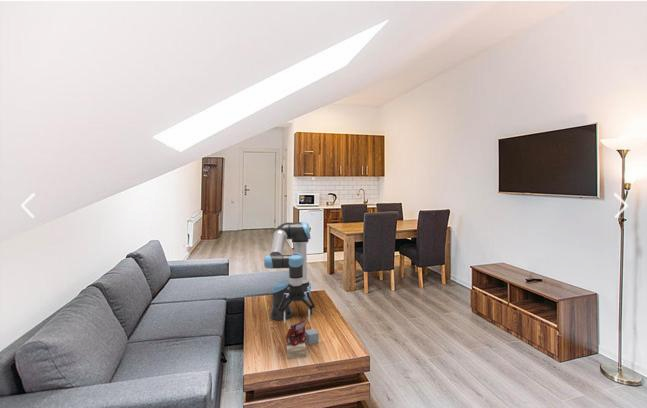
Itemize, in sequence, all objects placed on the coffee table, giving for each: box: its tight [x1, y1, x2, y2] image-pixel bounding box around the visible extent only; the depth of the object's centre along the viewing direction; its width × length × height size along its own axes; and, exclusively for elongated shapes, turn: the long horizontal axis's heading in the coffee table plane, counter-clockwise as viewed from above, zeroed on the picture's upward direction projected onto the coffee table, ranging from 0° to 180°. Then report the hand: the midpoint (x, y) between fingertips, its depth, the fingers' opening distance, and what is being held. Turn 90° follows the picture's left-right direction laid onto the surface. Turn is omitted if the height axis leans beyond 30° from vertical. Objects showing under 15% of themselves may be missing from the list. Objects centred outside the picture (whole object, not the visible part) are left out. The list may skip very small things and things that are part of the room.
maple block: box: [285, 339, 307, 359], centre depth 169 cm, size 15×10×5 cm, turn 9°
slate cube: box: [305, 328, 320, 346], centre depth 178 cm, size 6×6×6 cm
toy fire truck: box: [285, 320, 307, 346], centre depth 169 cm, size 7×12×10 cm, turn 130°
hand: (297, 321), depth 169 cm, fingers open, 13 cm apart
